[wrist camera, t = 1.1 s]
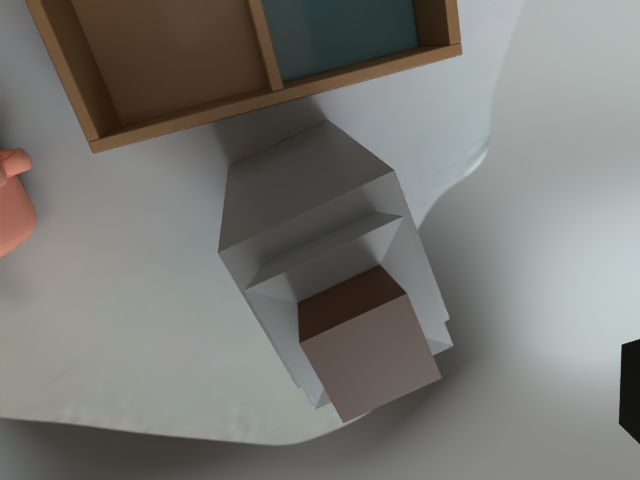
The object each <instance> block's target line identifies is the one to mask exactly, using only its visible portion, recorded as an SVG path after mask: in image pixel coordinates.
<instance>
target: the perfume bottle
mask: <svg viewBox="0 0 640 480" xmlns="http://www.w3.org/2000/svg"><path fill="white" fill-rule="evenodd" d="M218 254H219V256H220V257H221V259H222V261H223V263H224V264H225V266H226V268H227V269H228V271H229V273H230V274H231V276H232V278H233V279H234V281H235V283H236V285H237V286H238V288H239V290H240V291H241V293H242V295H243V296H244V298H245V300H246V301H247V303H248V305H249V306H250V308H251V310H252V312H253V313H254V315H255V317H256V318H257V320H258V322H259V323H260V325H261V327H262V328H263V330H264V332H265V334H266V335H267V337H268V339H269V340H270V342H271V344H272V345H273V347H274V349H275V350H276V352H277V354H278V356H279V357H280V359H281V361H282V362H283V364H284V366H285V367H286V369H287V371H288V372H289V374H290V376H291V378H292V379H293V381H294V383H295V384H296V386H297V388H298V389H299V388H301V387H302V389H303V391H304V392H305V394H306V396H307V398H308V399H309V401H310V403H311V404H312V406H313V408H314V409H317V408H320V407H322V406H324V405H326V404H328V403H330V402H332V403H333V405H334V407H335V409H336V410H337V412H338V414H339V416H340V418H341V419H342V421H343V423H345V422H347V421H349V420H351V419H354V418H356V417H358V416H360V415H362V414H364V413H367V412H369V411H371V410H373V409H375V408H377V407H380V406H382V405H384V404H386V403H388V402H390V401H393V400H395V399H397V398H399V397H401V396H403V395H406V394H408V393H410V392H412V391H414V390H417V389H419V388H421V387H423V386H425V385H427V384H430V383H432V382H434V381H436V380H438V379H441V375H440V372H439V370H438V368H437V365H436V363H435V360H434V358H433V355H435V354H437V353H439V352H441V351H443V350H445V349H448V348H450V347H452V346H453V344H452V341H451V339H450V336H449V333H448V331H447V328H446V326H445V323H444V321H446V320H448V319H449V316H448V313H447V310H446V307H445V305H444V302H443V299H442V297H441V294H440V291H439V289H438V286H437V283H436V281H435V278H434V275H433V273H432V270H431V267H430V265H429V262H428V259H427V256H426V254H425V251H424V249H423V246H422V243H421V240H420V238H419V235H418V232H417V230H416V227H415V224H414V222H413V219H412V216H411V213H410V211H409V208H408V205H407V203H406V200H405V197H404V195H403V192H402V189H401V187H400V184H399V181H398V179H397V176H396V173H395V170H393V169H392V168H391V167H389V166H388V165H387V164H386V163H384V162H383V161H382V160H380V159H379V158H378V157H376V156H375V155H374V154H372V153H371V152H370V151H368V150H367V149H366V148H364V147H363V146H362V145H360V144H359V143H358V142H357V141H355V140H354V139H353V138H351V137H350V136H349V135H347V134H346V133H345V132H343V131H342V130H341V129H339V128H338V127H337V126H335V125H334V124H333V123H331V122H330V121H329V120H326V121H324V122H322V123H320V124H318V125H316V126H314V127H312V128H309V129H307V130H305V131H303V132H301V133H299V134H297V135H295V136H292V137H290V138H288V139H286V140H284V141H282V142H280V143H278V144H276V145H273V146H271V147H269V148H267V149H265V150H263V151H261V152H259V153H257V154H254V155H252V156H250V157H248V158H246V159H244V160H242V161H240V162H237V163H235V164H233V165H231V166H229V167H228V175H227V183H226V191H225V199H224V208H223V216H222V224H221V232H220V240H219V248H218Z"/></svg>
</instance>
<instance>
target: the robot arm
mask: <svg viewBox="0 0 640 480" xmlns="http://www.w3.org/2000/svg"><path fill="white" fill-rule="evenodd" d="M619 409H620V410H619V424H620V425H621V426H622V427H623V428H624V429H625V430H626V431H627V432H628V433H629V434H630V435H631V436H632V437H633V438H634V439H635V440H636V441H637V442H638V443H639V444H640V339H639V340H635V341H632V342H629V343H625V344H623V345H622V351H621V378H620V408H619Z"/></svg>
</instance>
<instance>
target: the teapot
mask: <svg viewBox="0 0 640 480" xmlns="http://www.w3.org/2000/svg"><path fill="white" fill-rule="evenodd" d="M31 166H32V165H31V159H30V157H29V155H28V154H27V153H26V152H25V151H24V150H23V149H20V148H16V149H10V150H5V151H2V150H1V148H0V257H2V256H3V255H5V254H7V253H8V252H10V251H11V250H13V249H14V248H16V247H17V246H19V245H20V244H21V243H22V242H24V241H25V240H26V239H27V238H28V237H29V236H30V235H31V234H32V232H33V230H34V228H35V224H36V212H35V209H34V206H33V204H32V202H31V200H30V198H29V196H28V194H27V192H26V191H25V189H24V187H23V185H22V183H21V182H20V180H19V178H18V176H17V175H16V174H19V173H21V172H24V171H27V170H29V169H31Z"/></svg>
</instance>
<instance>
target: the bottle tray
mask: <svg viewBox="0 0 640 480" xmlns="http://www.w3.org/2000/svg"><path fill="white" fill-rule="evenodd" d="M25 1H26V4H27V6H28V8H29V11H30V13H31V15H32V17H33V20H34V22H35V24H36V26H37V29H38V31H39V33H40V35H41V38H42V40H43V42H44V44H45V47H46V49H47V51H48V53H49V56H50V58H51V60H52V62H53V65H54V67H55V69H56V71H57V74H58V76H59V78H60V80H61V83H62V85H63V87H64V89H65V92H66V94H67V96H68V98H69V101H70V103H71V105H72V107H73V110H74V112H75V114H76V116H77V119H78V121H79V123H80V125H81V128H82V130H83V132H84V134H85V137H86V139H87V141H89V142H88V143H89V146H90V148H91V150H92V152H93V153H98V152H102V151H106V150H109V149H113V148H117V147H121V146H124V145H128V144H132V143H136V142H139V141H143V140H147V139H150V138H154V137H158V136H162V135H165V134H169V133H173V132H176V131H180V130H184V129H188V128H191V127H195V126H199V125H203V124H206V123H210V122H214V121H217V120H221V119H225V118H229V117H232V116H236V115H240V114H243V113H247V112H251V111H255V110H258V109H262V108H266V107H270V106H273V105H277V104H281V103H284V102H288V101H292V100H296V99H299V98H303V97H307V96H310V95H314V94H318V93H322V92H325V91H329V90H333V89H337V88H340V87H344V86H348V85H351V84H355V83H359V82H363V81H366V80H370V79H374V78H377V77H381V76H385V75H389V74H392V73H396V72H400V71H404V70H407V69H411V68H415V67H418V66H422V65H426V64H430V63H433V62H437V61H441V60H444V59H448V58H452V57H456V56H459V55H462V47H461V43H460V42H461V37H460V28H459V18H458V9H457V0H25Z"/></svg>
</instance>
